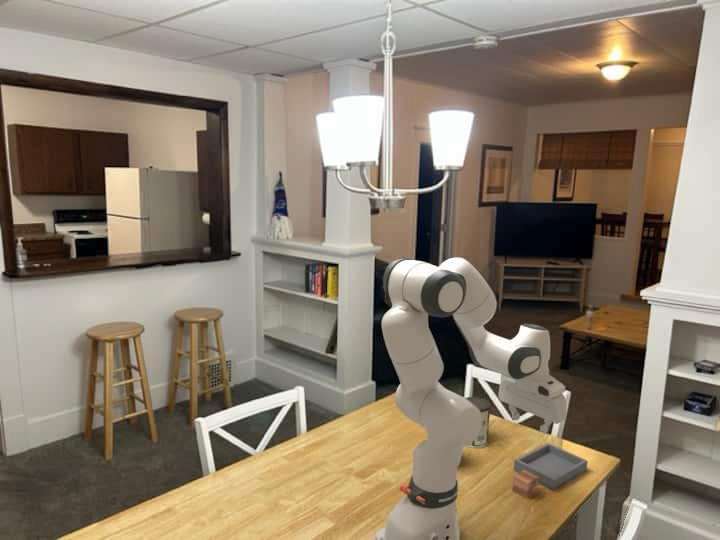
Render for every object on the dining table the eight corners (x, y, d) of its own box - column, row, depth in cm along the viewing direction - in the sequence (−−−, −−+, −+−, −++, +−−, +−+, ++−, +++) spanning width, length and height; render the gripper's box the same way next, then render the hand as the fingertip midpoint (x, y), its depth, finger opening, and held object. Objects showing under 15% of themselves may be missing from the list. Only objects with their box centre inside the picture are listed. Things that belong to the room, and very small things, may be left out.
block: (526, 499, 148) (528, 483, 147) (512, 490, 152) (513, 475, 151) (537, 492, 151) (538, 477, 150) (522, 484, 155) (523, 469, 154)
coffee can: (468, 430, 188) (470, 394, 186) (493, 440, 181) (496, 402, 179) (452, 440, 181) (453, 402, 178) (477, 451, 174) (480, 412, 171)
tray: (553, 491, 152) (554, 480, 151) (513, 469, 163) (514, 459, 162) (586, 471, 163) (587, 460, 162) (547, 452, 174) (547, 442, 173)
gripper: (494, 371, 152) (493, 415, 155) (557, 394, 136) (554, 443, 139) (508, 366, 156) (506, 409, 158) (571, 388, 140) (567, 435, 142)
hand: (529, 425), depth 148 cm, fingers open, 8 cm apart
